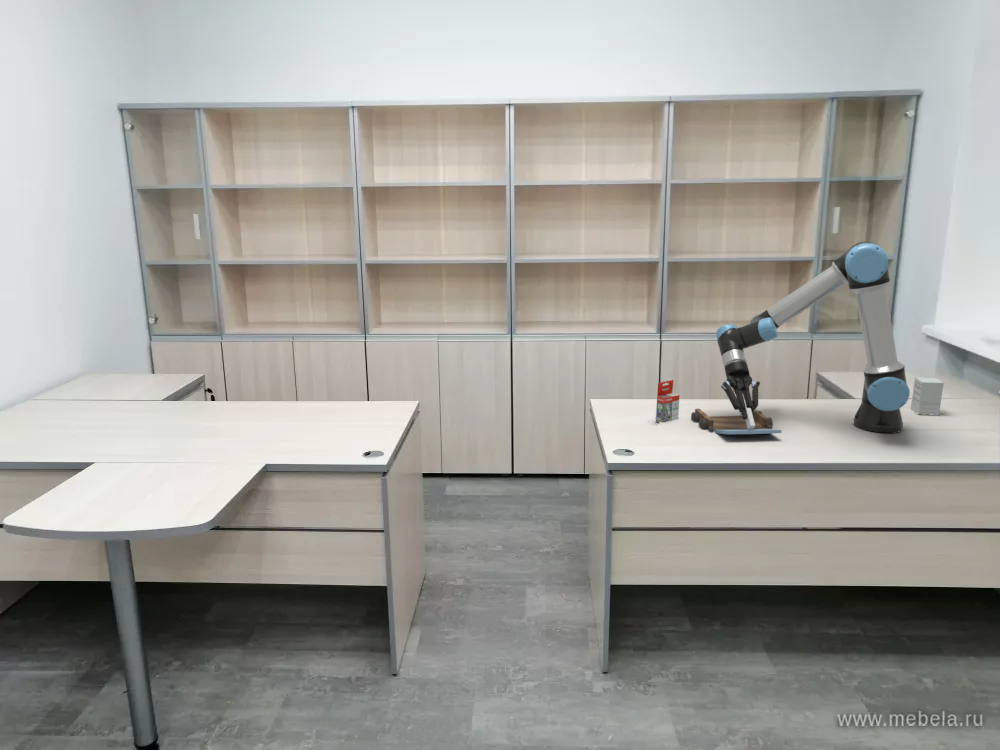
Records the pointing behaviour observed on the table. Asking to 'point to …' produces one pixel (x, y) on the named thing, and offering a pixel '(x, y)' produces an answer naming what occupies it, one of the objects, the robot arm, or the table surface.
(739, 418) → the trailer bed
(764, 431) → the panel
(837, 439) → the table surface
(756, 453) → the table surface
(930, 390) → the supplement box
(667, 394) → the ink box
